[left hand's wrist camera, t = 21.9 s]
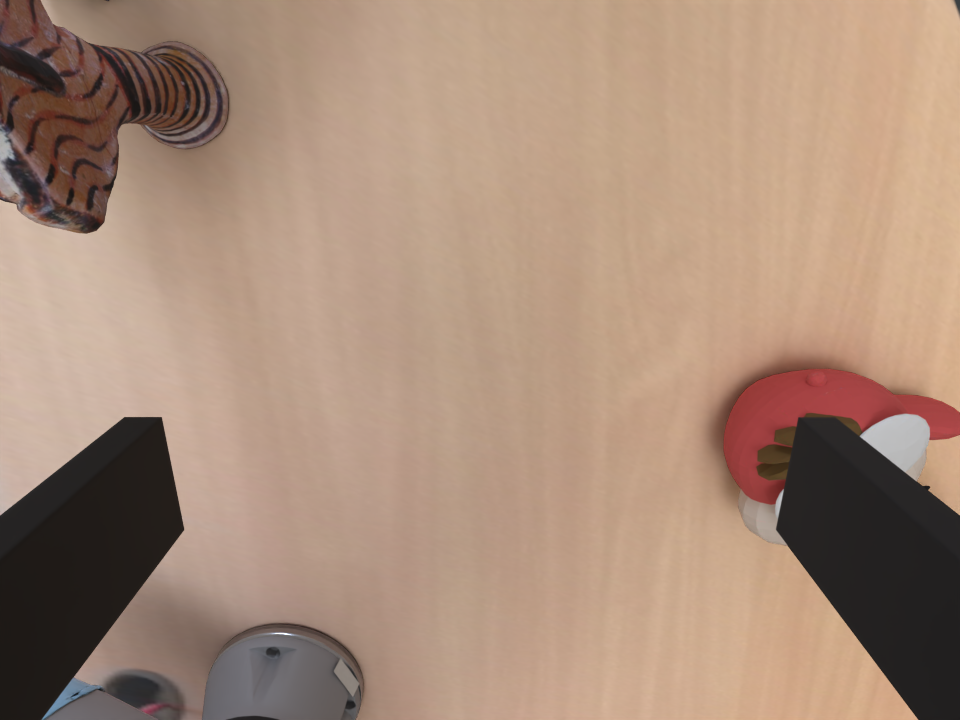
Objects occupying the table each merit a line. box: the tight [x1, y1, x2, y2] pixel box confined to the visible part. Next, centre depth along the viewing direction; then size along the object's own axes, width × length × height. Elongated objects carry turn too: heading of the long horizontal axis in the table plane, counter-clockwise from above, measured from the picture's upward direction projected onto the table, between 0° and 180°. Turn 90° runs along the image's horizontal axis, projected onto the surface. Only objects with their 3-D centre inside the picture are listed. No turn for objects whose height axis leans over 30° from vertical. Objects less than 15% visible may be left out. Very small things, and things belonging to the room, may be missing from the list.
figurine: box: [0, 0, 228, 233], centre depth 29 cm, size 15×8×30 cm, turn 26°
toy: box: [724, 369, 960, 546], centre depth 50 cm, size 18×10×30 cm
